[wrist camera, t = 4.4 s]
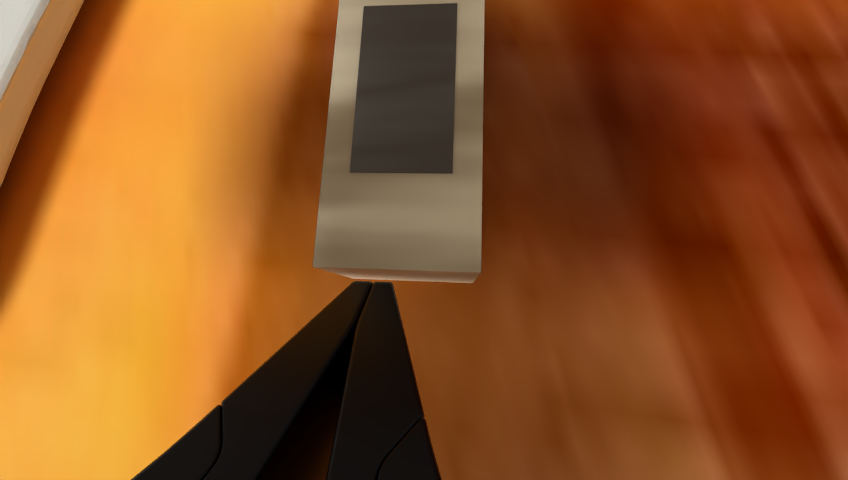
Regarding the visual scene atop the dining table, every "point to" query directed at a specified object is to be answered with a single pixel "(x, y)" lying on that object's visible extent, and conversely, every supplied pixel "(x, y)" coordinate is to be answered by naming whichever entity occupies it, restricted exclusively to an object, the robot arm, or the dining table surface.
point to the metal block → (404, 143)
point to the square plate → (27, 61)
